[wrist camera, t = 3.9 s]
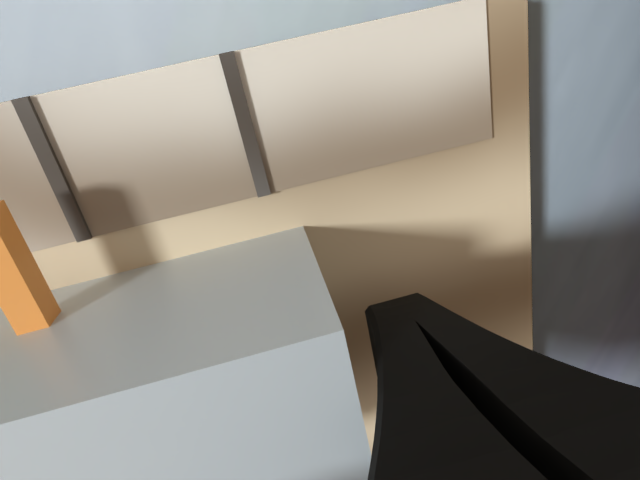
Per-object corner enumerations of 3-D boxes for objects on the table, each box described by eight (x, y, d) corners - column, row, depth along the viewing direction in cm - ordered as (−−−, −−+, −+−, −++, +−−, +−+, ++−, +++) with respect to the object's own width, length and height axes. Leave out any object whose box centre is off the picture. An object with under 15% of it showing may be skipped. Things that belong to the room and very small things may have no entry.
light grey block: (341, 387, 12) (391, 547, 8) (-61, 501, 11) (-231, 745, 7) (278, 124, 9) (308, 168, 5) (-264, 252, 9) (-728, 422, 4)
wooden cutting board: (513, 406, 15) (538, 437, 14) (-273, 640, 13) (-329, 702, 12) (496, -5, 10) (534, -16, 9) (-766, 274, 8) (-951, 312, 7)
